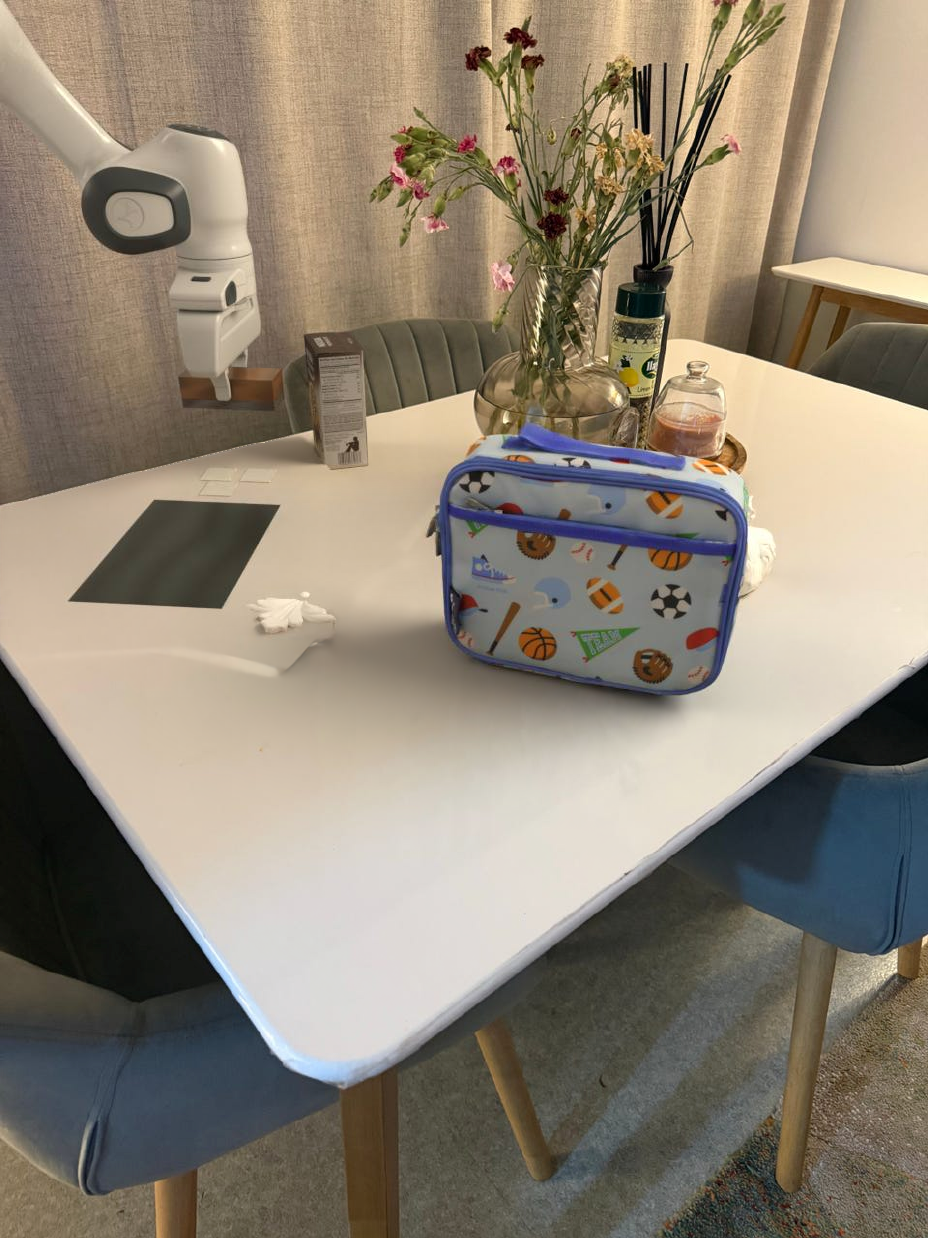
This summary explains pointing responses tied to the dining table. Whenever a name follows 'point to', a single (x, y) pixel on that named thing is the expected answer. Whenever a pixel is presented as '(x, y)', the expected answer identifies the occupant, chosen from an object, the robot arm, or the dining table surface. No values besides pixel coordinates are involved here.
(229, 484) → the chalk piece
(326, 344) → the coffee box
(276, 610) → the acanthus leaf ornament
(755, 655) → the dining table surface
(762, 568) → the bust
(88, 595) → the slate board
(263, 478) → the white square tile
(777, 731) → the dining table surface
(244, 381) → the eraser
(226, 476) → the chalk piece
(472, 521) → the lunch box
